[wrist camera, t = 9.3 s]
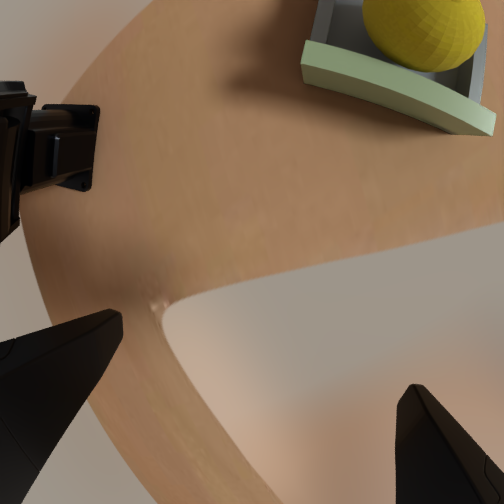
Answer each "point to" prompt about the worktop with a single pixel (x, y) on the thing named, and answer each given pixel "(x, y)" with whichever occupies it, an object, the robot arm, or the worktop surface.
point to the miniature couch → (393, 74)
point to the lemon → (425, 31)
